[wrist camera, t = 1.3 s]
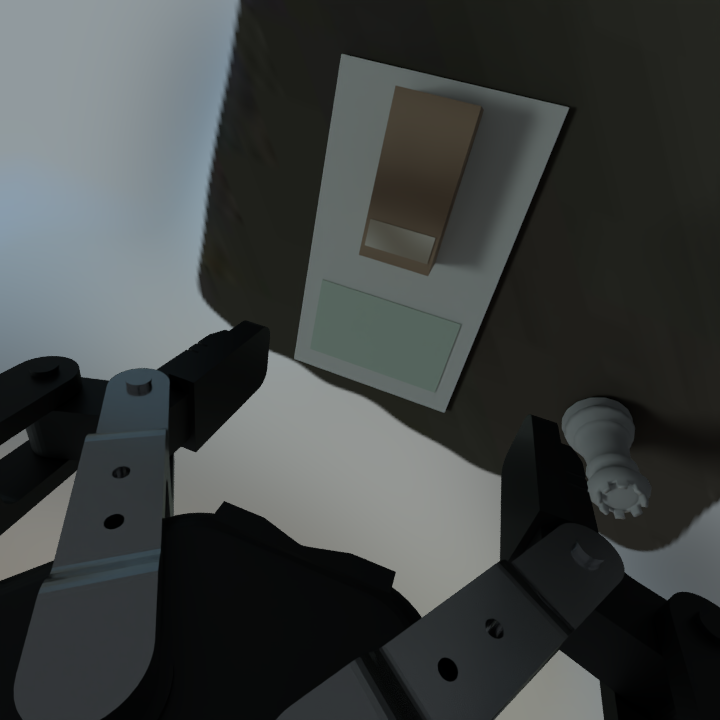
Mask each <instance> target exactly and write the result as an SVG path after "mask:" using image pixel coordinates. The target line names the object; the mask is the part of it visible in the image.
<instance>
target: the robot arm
mask: <svg viewBox="0 0 720 720" xmlns="http://www.w3.org/2000/svg"><path fill="white" fill-rule="evenodd" d="M269 340H270V331H269V328H267V327H265V326H262V325H258V324H255V323H252V322H249V321H243V322H241V323H240V324H238V325H237V326H236V327H234V328H233V329H231V330H230V331H227V330H223V331H220V332H217V333H213V334H210V335H208V336H206V337H205V338H203V339H202V340H200V341H199V342H198V344H195V345H193V346H191V347H190V348H189V350H185V351H184V352H183V353H181V354H180V355H178V356H176V357H175V358H173V359H172V360H170V361H169V362H168V363H166V364H165V365H163V366H161V367H160V368H159V369H157V370H154V369H148V368H138V369H131V370H127V371H124V372H121V373H119V374H117V375H115V376H114V377H113V378H111V379H110V381H106V380H99V379H91V378H83V377H81V375H80V370H79V366H78V364H77V363H76V362H75V361H73V360H72V359H69V358H66V357H59V356H47V357H40V358H35V359H31V360H28V361H25V362H23V363H21V364H19V365H17V366H15V367H13V368H11V369H9V370H7V371H5V372H3V373H1V374H0V445H1V444H3V443H4V442H6V441H7V440H9V439H10V438H11V437H13V436H15V435H16V434H18V433H19V432H21V431H22V430H24V429H26V431H27V434H28V437H29V440H28V441H26V442H25V443H24V444H22V445H21V446H19V447H18V448H17V449H15V450H13V451H12V452H11V453H9V454H8V455H6V456H5V457H3V458H2V459H0V535H1V534H3V533H4V532H5V531H6V530H7V529H9V528H10V527H11V526H12V525H13V524H14V523H16V522H17V521H18V520H19V519H20V518H21V517H23V516H24V515H25V514H26V513H27V512H28V511H30V510H31V509H32V508H33V507H34V506H36V505H37V504H38V503H39V502H40V501H41V500H42V499H44V498H45V497H46V496H47V495H48V494H50V493H51V492H52V491H53V490H54V489H55V488H57V487H58V486H59V485H60V484H61V483H63V482H64V481H65V480H66V479H67V478H68V477H70V476H71V475H72V474H73V473H74V472H75V471H77V473H76V477H75V481H74V485H73V489H72V493H71V497H70V501H69V505H68V508H67V513H66V516H65V520H64V524H63V528H62V532H61V536H60V540H59V544H58V548H57V551H56V555H55V559H54V561H51V562H49V563H46V564H43V565H41V566H38V567H36V568H33V569H30V570H28V571H25V572H23V573H20V574H17V575H15V576H12V577H9V578H7V579H4V580H1V581H0V720H494V719H495V718H496V717H497V716H498V715H499V714H500V713H501V712H502V711H503V710H504V708H505V707H506V706H507V705H508V704H509V703H510V702H511V701H512V700H513V699H514V698H515V697H516V695H517V694H518V693H519V692H520V691H521V690H522V689H523V688H524V687H525V686H526V685H527V684H528V683H529V681H531V679H532V678H533V677H534V676H535V675H536V674H537V673H538V672H539V671H540V670H541V669H542V668H543V667H544V665H545V664H546V663H547V662H548V661H549V660H550V659H551V658H552V657H553V656H554V655H555V654H556V653H557V652H558V650H561V651H562V652H563V653H565V654H566V655H567V656H569V657H570V658H571V659H572V660H574V661H575V662H576V663H578V664H579V665H580V666H582V667H583V668H584V669H586V670H587V671H588V672H590V673H591V674H592V675H593V676H595V677H596V678H597V679H599V680H600V688H601V697H602V705H603V714H604V720H720V608H719V607H718V606H717V605H715V604H714V603H712V602H710V601H709V600H707V599H705V598H703V597H701V596H699V595H696V594H693V593H689V592H679V593H676V594H674V595H673V596H672V597H671V598H670V599H669V600H668V601H667V600H665V599H664V598H662V597H661V596H659V595H658V594H656V593H654V592H653V591H651V590H650V589H648V588H647V587H645V586H643V585H642V584H640V583H638V582H637V581H636V580H634V579H632V578H631V577H630V576H628V575H627V574H626V573H625V572H624V565H623V562H622V559H621V557H620V556H619V554H618V552H617V551H616V550H615V548H614V547H613V546H612V545H611V544H610V543H609V542H608V541H607V540H606V539H605V538H604V537H603V536H601V535H600V534H599V533H598V528H597V524H596V520H595V515H594V511H593V507H592V502H591V498H590V494H589V492H588V485H587V481H586V479H585V477H586V476H585V472H584V468H583V463H582V461H581V460H580V458H579V457H578V455H577V454H576V453H575V451H574V450H573V448H572V447H571V446H568V445H565V444H562V443H561V440H560V435H559V429H558V425H557V423H555V422H552V421H549V420H546V419H543V418H540V417H537V416H534V415H531V414H529V415H528V416H527V417H526V418H525V420H524V422H523V424H522V426H521V428H520V430H519V431H518V433H517V435H516V437H515V439H514V441H513V443H512V445H511V447H510V449H509V451H508V453H507V455H506V458H505V461H504V464H503V468H502V476H501V481H502V482H501V538H500V561H499V562H498V563H497V564H495V565H493V566H492V567H491V568H490V569H488V570H487V571H485V572H484V573H483V574H481V575H480V576H478V577H477V578H476V579H474V580H473V581H472V582H470V583H469V584H468V585H466V586H465V587H463V588H462V589H461V590H459V591H458V592H457V593H455V594H454V595H452V596H451V597H450V598H449V599H447V600H446V601H444V602H443V603H442V604H440V605H439V606H437V607H436V608H435V609H433V610H432V611H431V612H429V613H428V614H427V615H425V616H424V617H423V618H422V617H421V616H420V614H419V613H418V612H417V610H416V609H415V608H414V607H413V606H412V605H411V603H410V602H409V601H408V600H407V599H405V598H404V597H403V596H402V595H401V594H400V593H399V592H398V591H396V590H395V589H394V588H392V584H393V580H394V577H395V573H396V572H395V571H392V570H390V569H387V568H385V567H382V566H380V565H377V564H375V563H373V562H370V561H368V560H366V559H363V558H361V557H358V556H356V555H353V554H351V553H344V552H337V551H331V550H325V549H318V548H312V547H306V546H303V545H300V544H298V543H297V542H296V541H294V540H293V539H292V538H290V537H289V536H287V535H286V534H285V533H284V532H282V531H281V530H280V529H278V528H277V527H276V526H274V525H273V524H272V523H270V522H269V521H268V520H266V519H265V518H264V517H261V516H259V515H256V514H254V513H251V512H249V511H247V510H244V509H242V508H239V507H237V506H235V505H232V504H230V503H227V502H225V501H224V502H223V503H222V505H221V506H220V507H219V509H218V510H217V511H216V512H215V514H212V513H187V514H181V515H175V516H174V452H175V451H177V450H178V449H179V448H180V447H184V448H186V449H189V450H191V451H194V452H197V451H198V450H199V448H200V447H202V446H203V444H204V443H205V442H206V441H207V440H208V439H209V438H210V437H211V436H212V435H213V434H214V433H215V432H216V431H217V430H218V429H219V428H220V427H221V426H222V425H223V424H224V423H225V422H226V421H227V420H228V419H229V418H230V417H231V416H232V415H233V414H234V413H235V412H236V411H237V410H238V409H239V408H240V407H241V406H242V405H243V404H244V403H245V402H246V401H247V400H248V399H249V398H250V397H251V396H252V395H253V394H254V393H255V392H256V391H257V390H258V389H259V387H260V386H261V385H262V383H263V381H264V379H265V376H266V372H267V364H268V352H269Z"/></svg>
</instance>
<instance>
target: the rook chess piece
mask: <svg viewBox="0 0 720 720" xmlns="http://www.w3.org/2000/svg"><path fill="white" fill-rule="evenodd" d="M562 430H563V432H564V433H565V434H564V436H565V438H566V440H567V441H568V443H569V445H570V446H571V447H572V448H573V449H574V450H575V451H577V452H578V453H579V454H580V455H582V456H583V457H584V459H585V461H586V463H587V467H586V475H587V477H588V479H589V481H588V482H587V485H588V492H589V494H590V498H591V501H592V502H593V503H595V504H596V505H597V506H599V510H600V511H601V512H603V513H604V514H605V515H607V514H608V513H610V511H611V512H613V513H614V516H615V518H617V519H625V516H624V513H626V512H631V513H632V515H633V516H634V517H637V516H639V515H641V514H643V513H642V510H641V506H643V507H648V498H649V497H650V494H651V486H650V484H649V482H648V479H647V478H645V477H644V476H643V475H642V474H640V473H639V468H638V466H637V464H636V463H635V462H634V461H633V460H632V459H631V457H630V451H629V449H630V447H631V444H632V442H633V441H634V433H635V426H634V424H633V419H632V416H631V414H630V412H629V410H628V409H627V408H626V407H624V406H623V405H622V404H621V403H619V402H618V401H615V400H611V399H608V398H588V399H585V400H581V401H578V402H576V403H575V404H574V405H572V406H571V407H570V408H568V409H567V411H566V413H565V414H564V416H563V418H562Z"/></svg>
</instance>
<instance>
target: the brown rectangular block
mask: <svg viewBox="0 0 720 720" xmlns="http://www.w3.org/2000/svg"><path fill="white" fill-rule="evenodd" d="M483 111H484V109H483V108H482V106H478V105H474V104H470V103H466V102H462V101H458V100H454V99H450V98H445V97H441V96H437V95H433V94H429V93H425V92H421V91H417V90H412V89H408V88H404V87H400V86H395V90H394V95H393V99H392V104H391V109H390V113H389V118H388V122H387V127H386V132H385V136H384V141H383V145H382V150H381V155H380V159H379V164H378V168H377V173H376V178H375V182H374V187H373V191H372V196H371V201H370V205H369V210H368V214H367V219H366V224H365V228H364V233H363V237H362V242H361V247H360V251H359V255H361V256H364V257H368V258H371V259H374V260H377V261H380V262H384V263H387V264H390V265H393V266H397V267H400V268H403V269H406V270H409V271H413V272H416V273H419V274H422V275H425V276H428V275H429V274H430V272H431V270H432V268H433V266H434V265H435V262H436V259H437V256H438V253H439V250H440V246H441V243H442V240H443V237H444V234H445V231H446V228H447V224H448V221H449V218H450V215H451V212H452V209H453V206H454V202H455V199H456V196H457V193H458V190H459V187H460V184H461V180H462V177H463V174H464V171H465V168H466V165H467V162H468V158H469V155H470V152H471V149H472V146H473V143H474V140H475V137H476V133H477V130H478V127H479V124H480V121H481V118H482V115H483Z"/></svg>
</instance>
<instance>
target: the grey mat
mask: <svg viewBox="0 0 720 720" xmlns="http://www.w3.org/2000/svg"><path fill="white" fill-rule="evenodd" d="M395 86H400V87H404V88H408V89H412V90H417V91H421V92H425V93H429V94H433V95H437V96H441V97H445V98H450V99H454V100H458V101H462V102H466V103H470V104H474V105H478V106H482V108H483V109H484V111H483V115H482V118H481V121H480V124H479V127H478V130H477V133H476V137H475V140H474V143H473V146H472V149H471V152H470V155H469V158H468V162H467V165H466V168H465V171H464V174H463V177H462V180H461V184H460V187H459V190H458V193H457V196H456V199H455V202H454V206H453V209H452V212H451V215H450V218H449V221H448V224H447V228H446V231H445V234H444V237H443V240H442V243H441V246H440V250H439V253H438V256H437V259H436V262H435V265H434V266H433V268H432V270H431V272H430V274H429V275H428V276H425V275H422V274H419V273H416V272H413V271H409V270H406V269H403V268H400V267H397V266H393V265H390V264H387V263H384V262H380V261H377V260H374V259H371V258H368V257H364V256H361V255H359V251H360V247H361V242H362V237H363V233H364V228H365V224H366V219H367V214H368V210H369V205H370V201H371V196H372V191H373V187H374V182H375V178H376V173H377V168H378V164H379V159H380V155H381V150H382V145H383V141H384V136H385V132H386V127H387V122H388V118H389V113H390V109H391V104H392V99H393V95H394V90H395ZM568 110H569V107H565V106H561V105H556V104H552V103H548V102H544V101H539V100H535V99H531V98H527V97H522V96H518V95H514V94H510V93H505V92H501V91H497V90H493V89H488V88H484V87H480V86H476V85H471V84H467V83H463V82H459V81H455V80H450V79H446V78H442V77H438V76H433V75H429V74H425V73H421V72H416V71H412V70H408V69H404V68H399V67H395V66H391V65H387V64H382V63H378V62H374V61H370V60H365V59H361V58H357V57H353V56H348V55H344V54H341V61H340V67H339V74H338V80H337V86H336V93H335V99H334V106H333V112H332V119H331V125H330V131H329V138H328V144H327V151H326V157H325V164H324V170H323V176H322V183H321V189H320V196H319V202H318V209H317V215H316V221H315V228H314V234H313V241H312V247H311V254H310V260H309V266H308V273H307V279H306V286H305V292H304V299H303V305H302V311H301V318H300V324H299V331H298V337H297V344H296V350H295V356H294V359H297V360H299V361H302V362H305V363H308V364H310V365H313V366H316V367H319V368H322V369H324V370H327V371H330V372H333V373H335V374H338V375H341V376H344V377H347V378H349V379H352V380H355V381H358V382H360V383H363V384H366V385H369V386H372V387H374V388H377V389H380V390H383V391H385V392H388V393H391V394H394V395H397V396H399V397H402V398H405V399H408V400H410V401H413V402H416V403H419V404H422V405H424V406H427V407H430V408H433V409H436V410H438V411H441V412H444V413H445V410H446V408H447V405H448V403H449V400H450V398H451V396H452V393H453V391H454V388H455V386H456V383H457V381H458V378H459V376H460V374H461V371H462V369H463V366H464V364H465V361H466V359H467V356H468V354H469V352H470V349H471V347H472V344H473V342H474V339H475V337H476V334H477V332H478V330H479V327H480V325H481V322H482V320H483V317H484V315H485V313H486V310H487V308H488V305H489V303H490V300H491V298H492V295H493V293H494V291H495V288H496V286H497V283H498V281H499V278H500V276H501V273H502V271H503V269H504V266H505V264H506V261H507V259H508V256H509V254H510V251H511V249H512V247H513V244H514V242H515V239H516V237H517V234H518V232H519V229H520V227H521V225H522V222H523V220H524V217H525V215H526V212H527V210H528V207H529V205H530V203H531V200H532V198H533V195H534V193H535V190H536V188H537V185H538V183H539V181H540V178H541V176H542V173H543V171H544V168H545V166H546V163H547V161H548V159H549V156H550V154H551V151H552V149H553V146H554V144H555V142H556V139H557V137H558V134H559V132H560V129H561V127H562V124H563V122H564V120H565V117H566V115H567V112H568Z"/></svg>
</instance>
